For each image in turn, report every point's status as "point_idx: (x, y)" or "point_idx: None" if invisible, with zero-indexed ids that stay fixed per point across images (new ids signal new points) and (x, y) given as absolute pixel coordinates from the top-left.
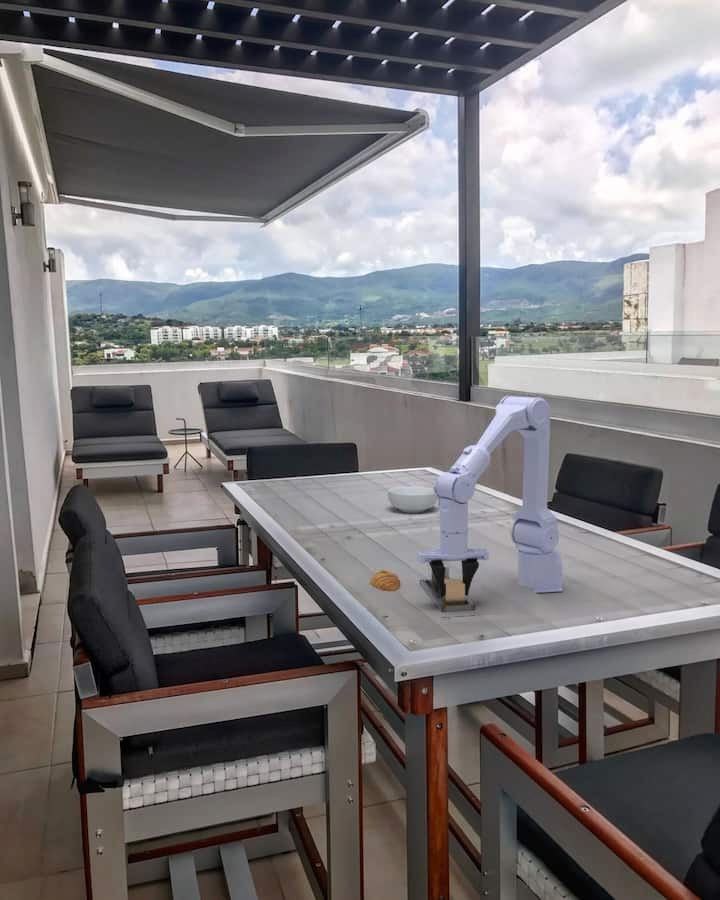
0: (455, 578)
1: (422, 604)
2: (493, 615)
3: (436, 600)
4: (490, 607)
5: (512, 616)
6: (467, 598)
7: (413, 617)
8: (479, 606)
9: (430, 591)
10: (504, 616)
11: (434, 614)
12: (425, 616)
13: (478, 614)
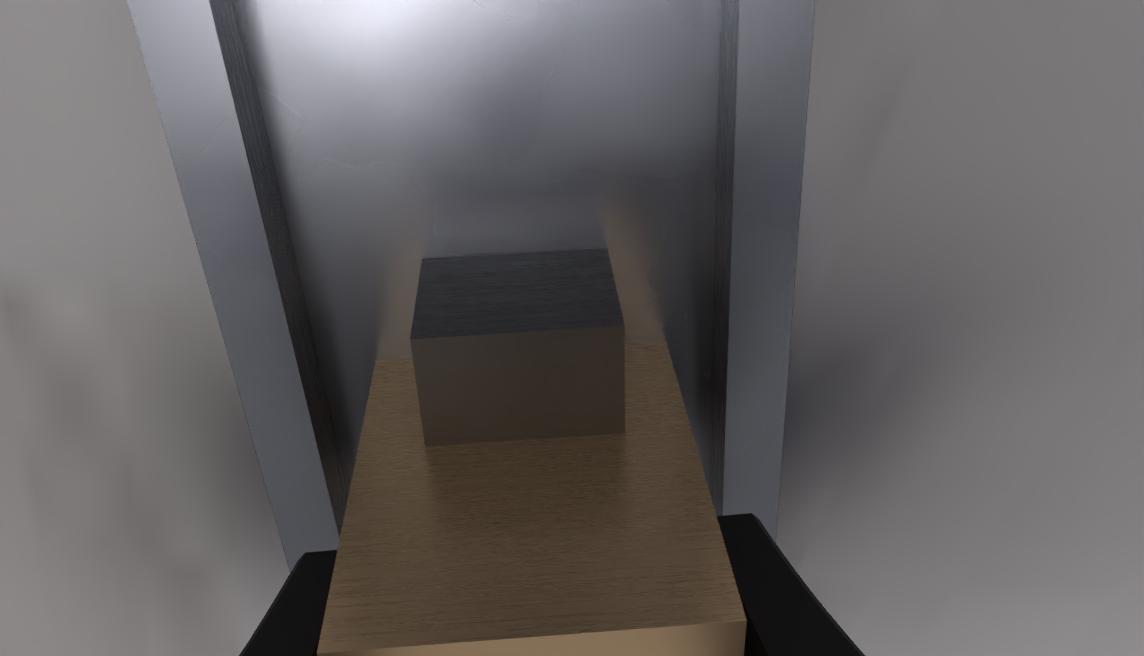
0: (637, 634)
1: (87, 143)
2: (936, 582)
3: (275, 519)
4: (1040, 349)
5: (1109, 613)
6: (762, 464)
7: (15, 597)
8: (921, 302)
9: (167, 49)
10: (1031, 610)
11: (273, 527)
12: (161, 577)
13: (790, 550)
